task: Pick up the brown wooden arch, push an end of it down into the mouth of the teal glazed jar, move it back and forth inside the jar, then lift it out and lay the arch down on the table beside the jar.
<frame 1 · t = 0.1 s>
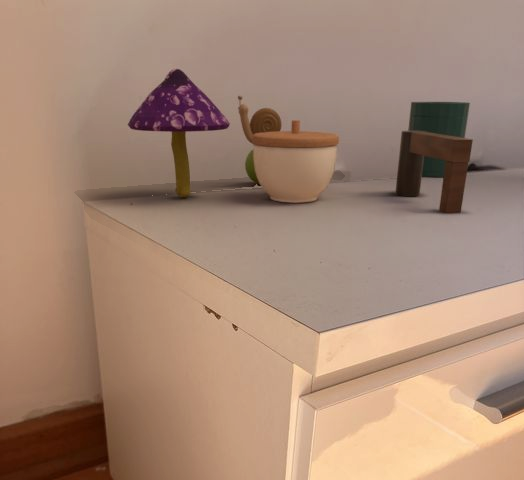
snail figurine: (260, 185, 84), on the table
trinket box: (293, 200, 74), on the table
jar: (431, 173, 96), on the table
decorative mushroom: (183, 199, 74), on the table
brown wooden arch: (433, 204, 70), on the table
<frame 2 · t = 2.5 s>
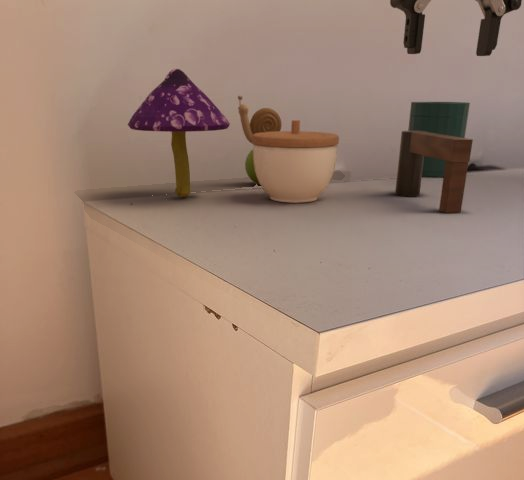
hand: (449, 54, 64), 16 cm above the table, tool pointing down, fingers open, 8 cm apart
nothing on the table moved.
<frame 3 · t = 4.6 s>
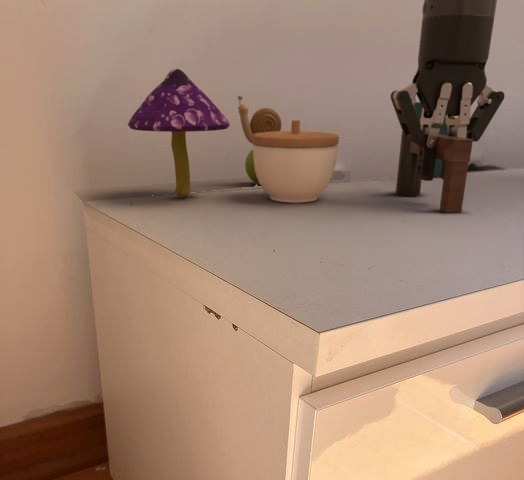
hand: (437, 179, 69), 3 cm above the table, tool pointing down, fingers closed on brown wooden arch, 2 cm apart
brown wooden arch: (433, 204, 70), on the table, touching gripper
everything else where it was.
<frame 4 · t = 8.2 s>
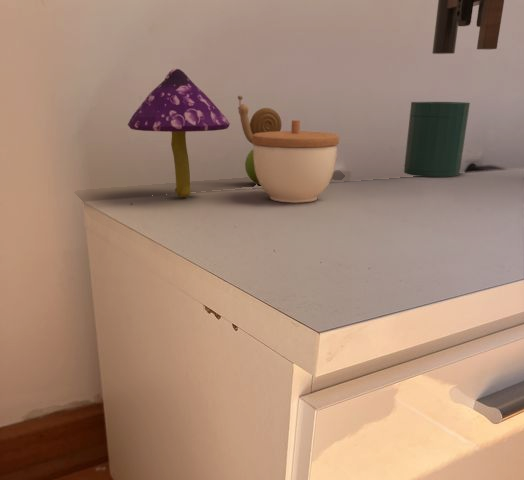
hand: (473, 25, 77), 21 cm above the table, tool pointing down, fingers closed on brown wooden arch
brown wooden arch: (469, 50, 79), point 18 cm above the table, touching gripper
everything else where it was.
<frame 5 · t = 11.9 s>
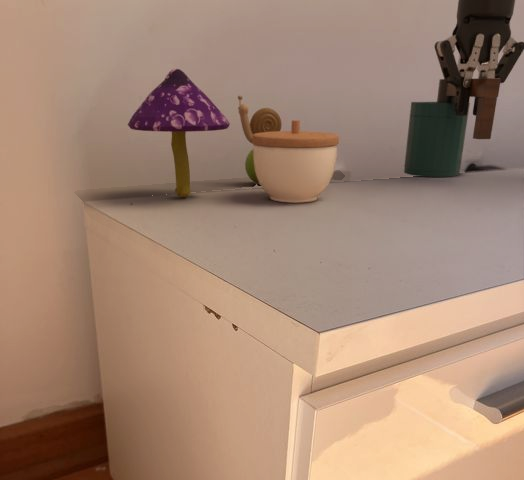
hand: (470, 114, 86), 9 cm above the table, tool pointing down, fingers closed on brown wooden arch
brown wooden arch: (466, 136, 87), point 6 cm above the table, touching gripper
everything else where it was.
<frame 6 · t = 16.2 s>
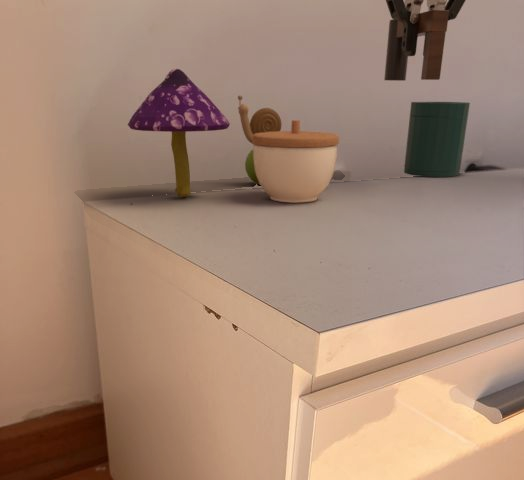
hand: (419, 55, 79), 17 cm above the table, tool pointing down, fingers closed on brown wooden arch
brown wooden arch: (416, 79, 80), point 14 cm above the table, touching gripper
everything else where it was.
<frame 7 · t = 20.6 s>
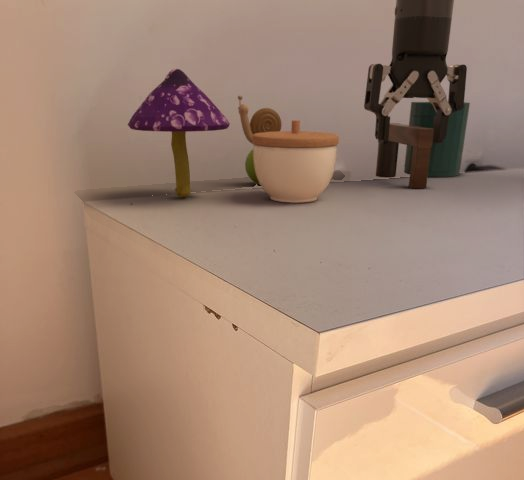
hand: (410, 143, 84), 6 cm above the table, tool pointing down, fingers open, 8 cm apart
brown wooden arch: (405, 183, 86), on the table
everything else where it was.
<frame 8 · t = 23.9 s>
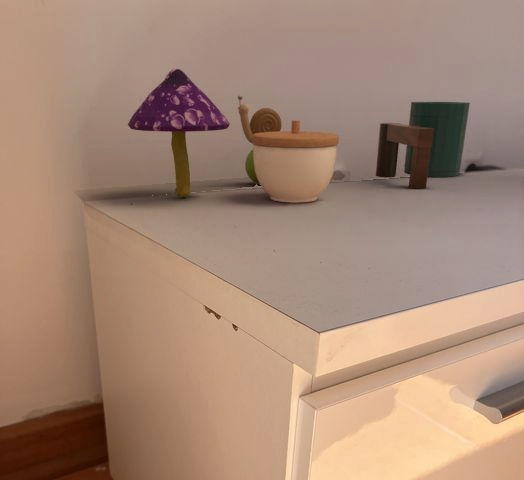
nothing on the table moved.
at the end: the gripper is holding nothing; brown wooden arch inside the target area on the table beside the jar (0.1 cm from its centre), on the table; brown wooden arch tilted 0° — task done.
